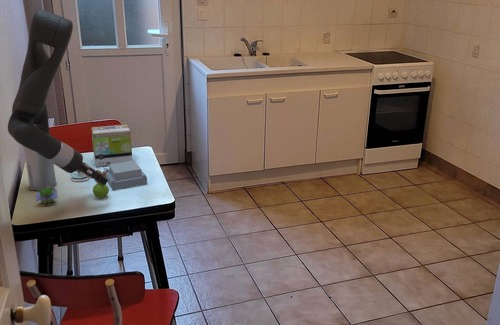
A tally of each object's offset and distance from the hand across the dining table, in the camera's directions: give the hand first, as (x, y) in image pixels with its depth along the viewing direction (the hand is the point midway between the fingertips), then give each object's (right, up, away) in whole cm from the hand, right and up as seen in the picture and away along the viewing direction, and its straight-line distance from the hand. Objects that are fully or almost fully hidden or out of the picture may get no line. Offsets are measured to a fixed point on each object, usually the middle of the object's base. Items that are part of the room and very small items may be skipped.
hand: (99, 179), depth 171 cm
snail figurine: (0, -7, +3) cm, 7 cm away
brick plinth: (+5, -1, +17) cm, 18 cm away
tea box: (-5, +6, +36) cm, 37 cm away
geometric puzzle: (-17, -9, -2) cm, 20 cm away
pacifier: (-13, -1, +18) cm, 22 cm away
